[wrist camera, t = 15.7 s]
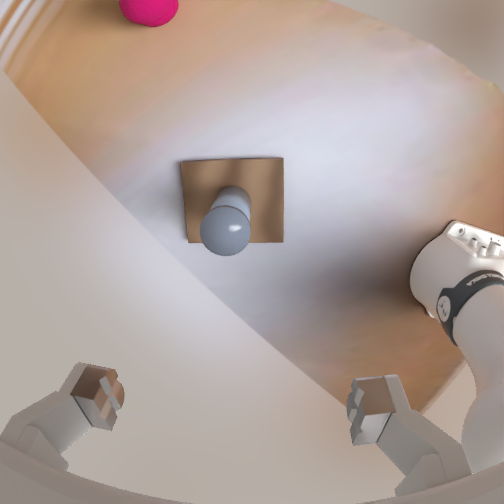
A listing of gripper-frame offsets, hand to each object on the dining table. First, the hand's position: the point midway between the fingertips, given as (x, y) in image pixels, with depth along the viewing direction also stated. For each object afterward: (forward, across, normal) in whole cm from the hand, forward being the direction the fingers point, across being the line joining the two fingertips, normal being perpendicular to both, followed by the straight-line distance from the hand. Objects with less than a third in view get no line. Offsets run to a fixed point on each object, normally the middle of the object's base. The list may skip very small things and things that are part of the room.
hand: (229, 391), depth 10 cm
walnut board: (+37, -4, -4) cm, 38 cm away
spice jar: (+35, -4, -4) cm, 36 cm away
